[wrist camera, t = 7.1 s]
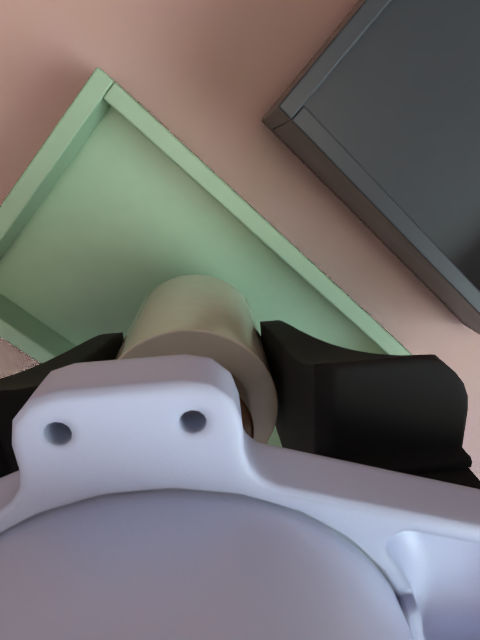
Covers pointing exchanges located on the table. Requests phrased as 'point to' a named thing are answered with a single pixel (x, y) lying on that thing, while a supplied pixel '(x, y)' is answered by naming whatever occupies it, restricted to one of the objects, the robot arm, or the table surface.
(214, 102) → the table surface
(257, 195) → the table surface
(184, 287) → the spice jar
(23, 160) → the table surface
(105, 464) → the robot arm
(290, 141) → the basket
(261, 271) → the tray
